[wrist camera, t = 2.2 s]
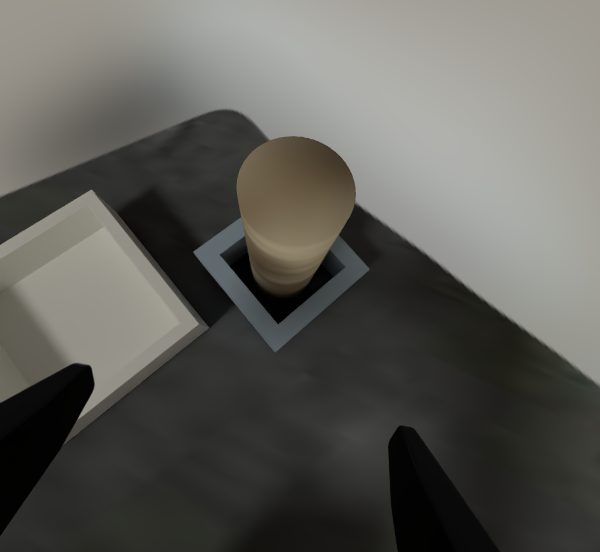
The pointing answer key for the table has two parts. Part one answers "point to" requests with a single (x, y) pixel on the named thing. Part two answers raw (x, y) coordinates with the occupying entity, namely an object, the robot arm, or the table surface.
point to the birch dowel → (292, 211)
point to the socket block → (217, 262)
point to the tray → (87, 306)
